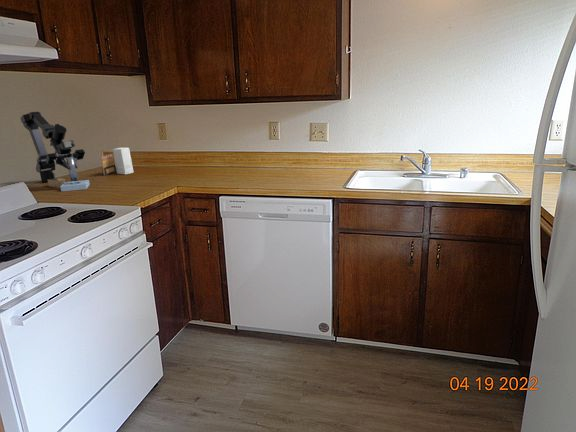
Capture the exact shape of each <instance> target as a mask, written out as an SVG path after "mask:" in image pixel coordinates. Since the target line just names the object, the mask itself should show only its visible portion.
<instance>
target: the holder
mask: <svg viewBox="0 0 576 432" xmlns="http://www.w3.org/2000/svg"><path fill="white" fill-rule="evenodd" d="M89 186H90V180H89V179H86V180H85V179H84V180H78V181H65V183H64V184H63V185H62V186H61V187H60V191H61V192H68V191H79V190H87V189H88V188H89Z"/></svg>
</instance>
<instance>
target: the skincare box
mask: <svg viewBox="0 0 576 432" xmlns="http://www.w3.org/2000/svg"><path fill="white" fill-rule="evenodd" d="M112 156H113V159H114V164H115V166H116V171H117V173H116V174H117V175H129V174H133V173H134V168H133V167H134V166H133V162H132V161H133V160H132V157H131V151H130V147H117V148H112Z"/></svg>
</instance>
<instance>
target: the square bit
mask: <svg viewBox="0 0 576 432" xmlns="http://www.w3.org/2000/svg"><path fill="white" fill-rule="evenodd" d="M65 182H66V179H65V178H58V177H57V178H56V177H55V178H53V179H48V182H47V183H48V187H50V188H51V187H52V188H61V186H62V185H63V184H64V183H65Z"/></svg>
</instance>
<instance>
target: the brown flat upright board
mask: <svg viewBox="0 0 576 432" xmlns="http://www.w3.org/2000/svg"><path fill="white" fill-rule="evenodd" d="M100 159H101V171H102V176H103V177H107V176H110V175H113V173H114V174H117V169H116V164H115V160H114V155H113V153H109V154H107V155H106V154H105V155H102V156H101V158H100Z"/></svg>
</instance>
